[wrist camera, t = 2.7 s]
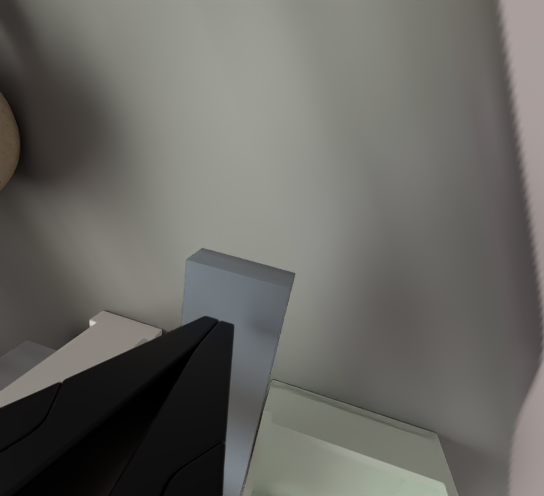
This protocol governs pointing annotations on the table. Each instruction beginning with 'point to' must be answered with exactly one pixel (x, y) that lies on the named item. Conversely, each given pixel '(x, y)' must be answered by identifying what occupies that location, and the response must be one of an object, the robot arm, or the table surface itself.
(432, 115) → the table surface
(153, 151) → the table surface
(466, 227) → the table surface
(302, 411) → the tray
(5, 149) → the ceramic mug
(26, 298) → the table surface
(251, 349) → the lever
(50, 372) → the stand
